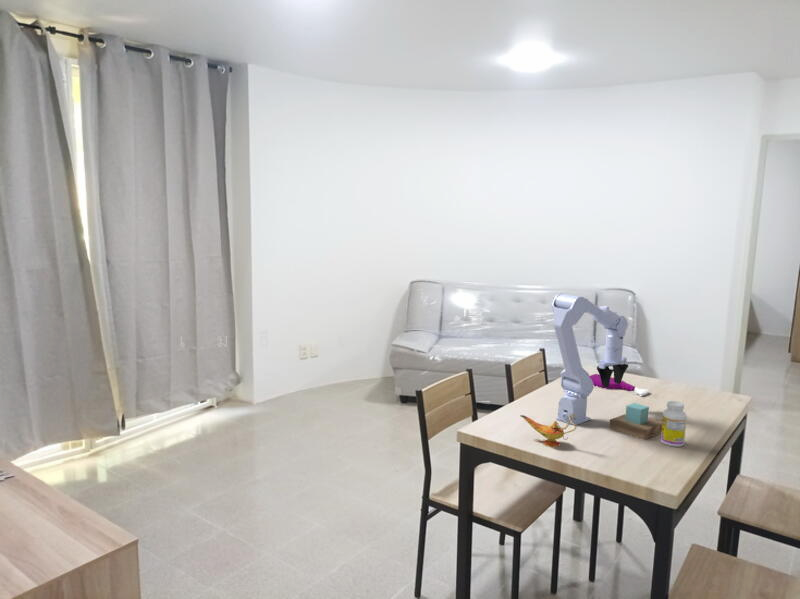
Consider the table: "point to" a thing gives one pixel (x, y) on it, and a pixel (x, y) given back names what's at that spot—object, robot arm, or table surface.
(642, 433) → the walnut base
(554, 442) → the magic lamp
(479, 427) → the table surface
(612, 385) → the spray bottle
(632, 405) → the teal cube
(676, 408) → the supplement bottle
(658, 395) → the table surface
